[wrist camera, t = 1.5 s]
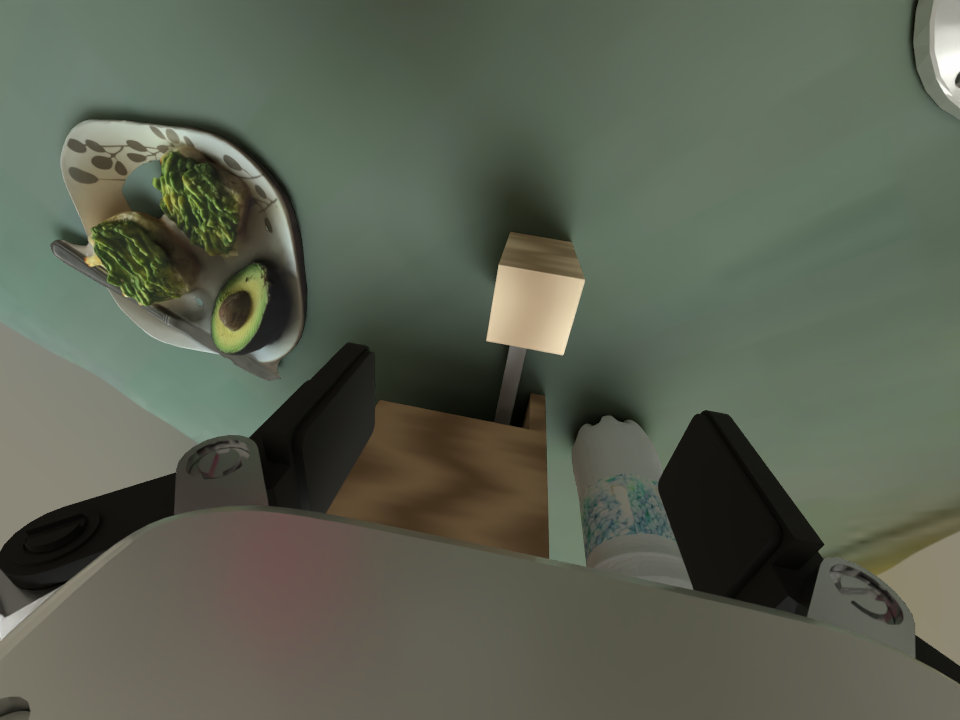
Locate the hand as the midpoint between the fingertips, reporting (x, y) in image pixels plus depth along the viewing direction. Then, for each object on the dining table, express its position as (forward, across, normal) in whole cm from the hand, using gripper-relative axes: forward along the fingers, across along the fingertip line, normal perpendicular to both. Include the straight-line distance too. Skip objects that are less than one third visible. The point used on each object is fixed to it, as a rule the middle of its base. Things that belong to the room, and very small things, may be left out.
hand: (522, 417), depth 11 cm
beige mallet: (+16, 0, +9) cm, 19 cm away
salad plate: (+17, +24, +4) cm, 29 cm away
